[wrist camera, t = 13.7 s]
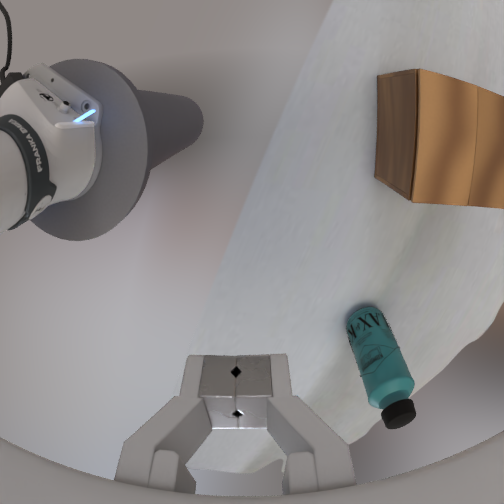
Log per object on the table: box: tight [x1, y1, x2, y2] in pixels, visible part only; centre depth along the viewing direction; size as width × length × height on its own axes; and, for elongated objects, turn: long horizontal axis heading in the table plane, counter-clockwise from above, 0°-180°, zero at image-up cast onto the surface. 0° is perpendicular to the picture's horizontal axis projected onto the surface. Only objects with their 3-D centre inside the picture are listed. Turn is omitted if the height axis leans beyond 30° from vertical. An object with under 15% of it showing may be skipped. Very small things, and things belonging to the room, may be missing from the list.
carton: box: [374, 69, 504, 209], centre depth 27 cm, size 15×13×10 cm
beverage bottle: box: [347, 307, 416, 429], centre depth 35 cm, size 6×7×20 cm
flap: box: [411, 69, 478, 206], centre depth 22 cm, size 7×13×1 cm, turn 2°
